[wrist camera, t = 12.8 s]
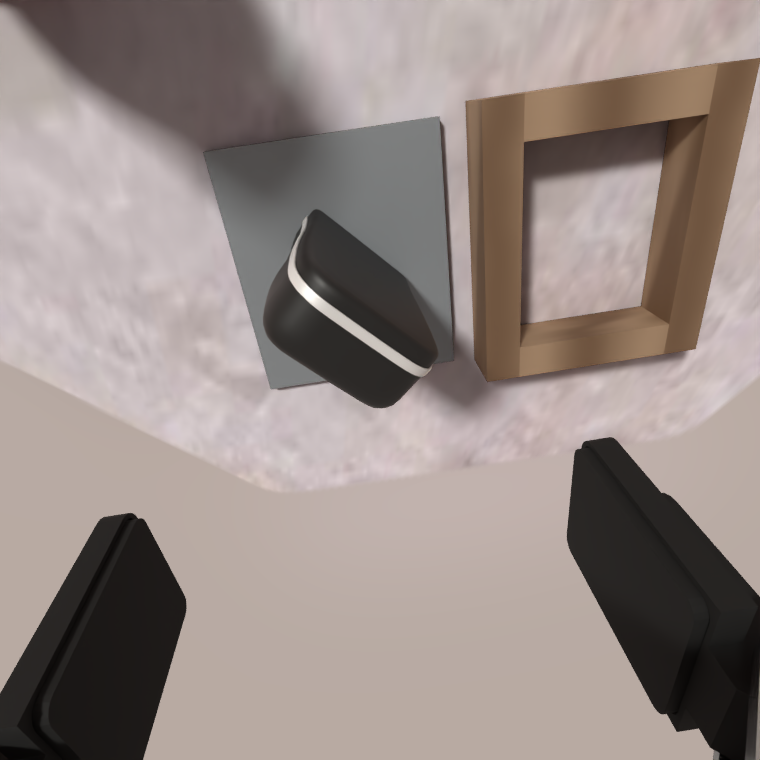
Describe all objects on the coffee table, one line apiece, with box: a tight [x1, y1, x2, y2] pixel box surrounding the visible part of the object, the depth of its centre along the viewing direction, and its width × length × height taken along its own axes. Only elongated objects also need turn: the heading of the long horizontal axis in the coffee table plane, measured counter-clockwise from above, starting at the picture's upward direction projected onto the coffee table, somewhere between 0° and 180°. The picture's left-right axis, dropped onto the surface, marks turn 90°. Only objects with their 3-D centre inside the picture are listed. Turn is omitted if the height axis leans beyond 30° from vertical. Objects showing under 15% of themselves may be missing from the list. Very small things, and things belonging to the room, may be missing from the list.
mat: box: [203, 117, 454, 389], centre depth 28 cm, size 12×14×1 cm
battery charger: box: [263, 209, 439, 408], centre depth 22 cm, size 7×4×11 cm, turn 51°
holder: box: [466, 58, 760, 382], centre depth 27 cm, size 13×15×3 cm
